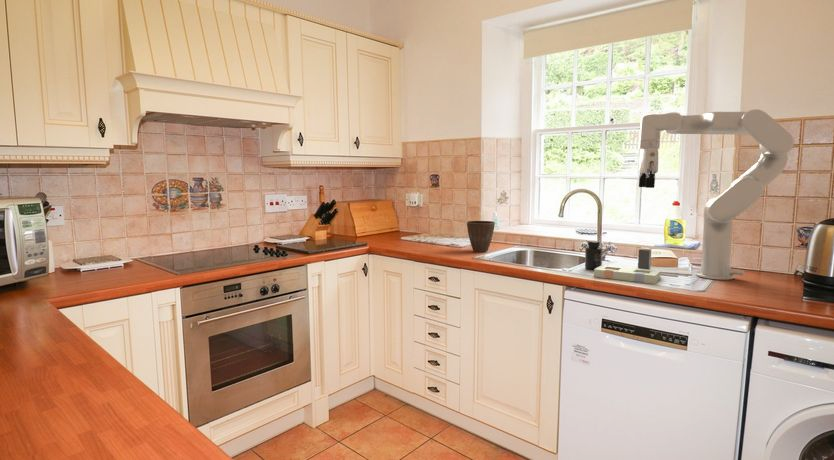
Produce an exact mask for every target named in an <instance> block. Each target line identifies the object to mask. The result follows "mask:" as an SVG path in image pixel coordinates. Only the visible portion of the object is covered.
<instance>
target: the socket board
mask: <svg viewBox="0 0 834 460" xmlns="http://www.w3.org/2000/svg"><path fill="white" fill-rule="evenodd" d="M661 274H662V270H657V269H650V270H649V269H639V268H638V267H629V266H628V267H625V266H618V265H617V266H616V265H606V264H602V265H601V266H599V267H597V268H596V269H594V270H593V277H594V278H600V279H601V278H603V279H609V280H610V279H611V280H621V281H626V282H628V281H629V282H636V283H644V282H645V284H654V285H655V284H657V282H658V281H660V279H661Z"/></svg>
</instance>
